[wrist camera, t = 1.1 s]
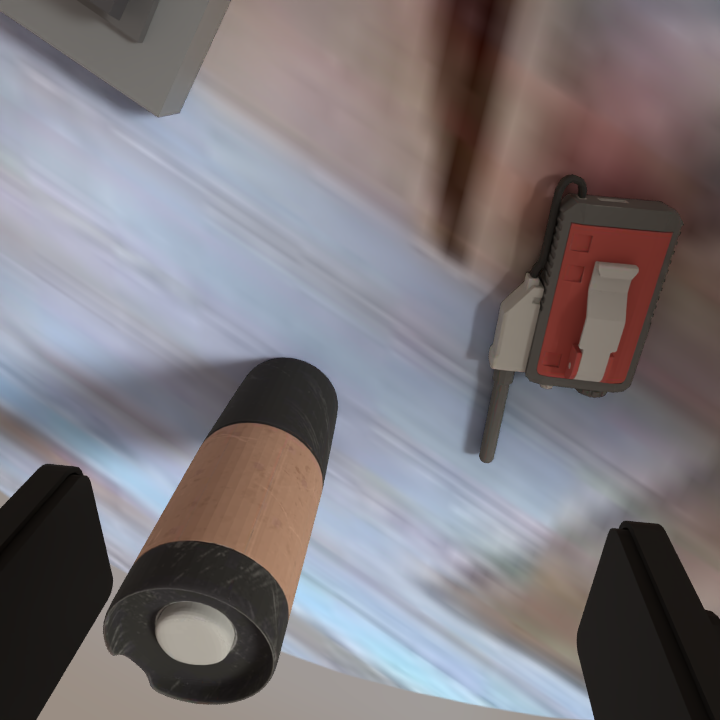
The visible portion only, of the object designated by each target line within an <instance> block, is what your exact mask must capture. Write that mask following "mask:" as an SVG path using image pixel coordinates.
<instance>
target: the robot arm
mask: <svg viewBox="0 0 720 720" xmlns="http://www.w3.org/2000/svg"><path fill="white" fill-rule="evenodd" d="M112 586H113V576H112V572H111V568H110V563H109V559H108V555H107V550H106V546H105V542H104V537H103V533H102V529H101V524H100V520H99V516H98V511H97V507H96V503H95V498H94V494H93V490H92V486H91V482H90V479H89V478H88V477H87V476H84V475H83V473H82V471H81V469H80V468H79V467H74V466H64V465H54V464H45V465H42V466H41V467H40V468H39V469H38V470H37V471H36V472H35V473H34V474H33V475H32V476H31V477H30V478H29V479H28V480H27V481H26V482H25V483H24V484H23V485H22V486H21V487H20V488H19V489H18V491H17V492H16V493H15V494H14V495H13V496H12V497H11V498H10V499H9V500H8V501H7V502H6V503H5V504H4V505H3V506H2V507H1V508H0V720H36V719H37V717H38V716H39V714H40V712H41V711H42V709H43V707H44V706H45V704H46V702H47V701H48V699H49V697H50V696H51V694H52V692H53V691H54V689H55V687H56V686H57V684H58V682H59V681H60V679H61V677H62V676H63V673H64V672H65V671H66V668H67V667H68V665H69V664H70V662H71V660H72V659H73V657H74V655H75V654H76V652H77V650H78V649H79V647H80V645H81V644H82V642H83V640H84V639H85V637H86V635H87V634H88V632H89V630H90V628H91V627H92V625H93V624H94V622H95V620H96V619H97V617H98V615H99V614H100V612H101V610H102V608H103V607H104V605H105V603H106V602H107V600H108V598H109V596H110V594H111V590H112ZM577 650H578V655H579V659H580V663H581V667H582V671H583V675H584V679H585V683H586V687H587V691H588V695H589V699H590V703H591V707H592V711H593V715H594V719H595V720H720V619H719V617H718V616H717V615H715V614H714V613H713V612H712V611H708V610H705V609H704V607H703V605H702V603H701V601H700V599H699V597H698V595H697V593H696V591H695V589H694V587H693V585H692V583H691V581H690V579H689V577H688V575H687V573H686V571H685V569H684V567H683V565H682V563H681V561H680V559H679V557H678V555H677V553H676V551H675V549H674V547H673V545H672V543H671V541H670V539H669V537H668V535H667V533H666V531H665V530H664V528H663V527H662V526H661V525H659V524H654V523H643V522H633V521H623V522H622V523H621V525H620V527H619V529H616V528H611V529H610V531H609V533H608V536H607V539H606V542H605V545H604V548H603V552H602V555H601V558H600V561H599V564H598V568H597V571H596V574H595V577H594V580H593V584H592V587H591V590H590V593H589V596H588V600H587V603H586V606H585V609H584V612H583V615H582V619H581V622H580V625H579V628H578V632H577Z"/></svg>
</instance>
